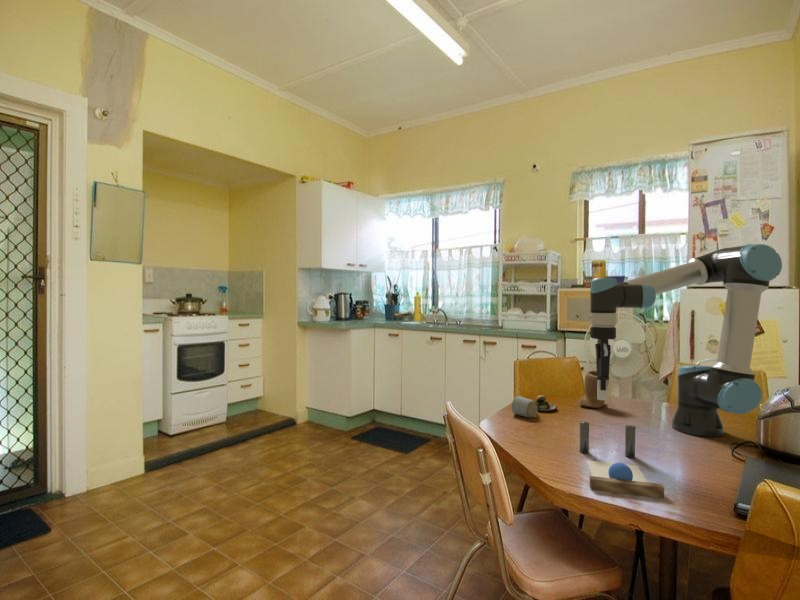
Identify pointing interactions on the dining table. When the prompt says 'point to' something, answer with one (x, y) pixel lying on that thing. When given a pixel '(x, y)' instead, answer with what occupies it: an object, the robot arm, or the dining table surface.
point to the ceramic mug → (524, 407)
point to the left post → (584, 437)
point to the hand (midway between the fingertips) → (602, 399)
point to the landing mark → (603, 467)
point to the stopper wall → (627, 486)
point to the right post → (630, 441)
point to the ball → (620, 472)
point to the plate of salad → (544, 404)
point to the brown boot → (591, 391)
